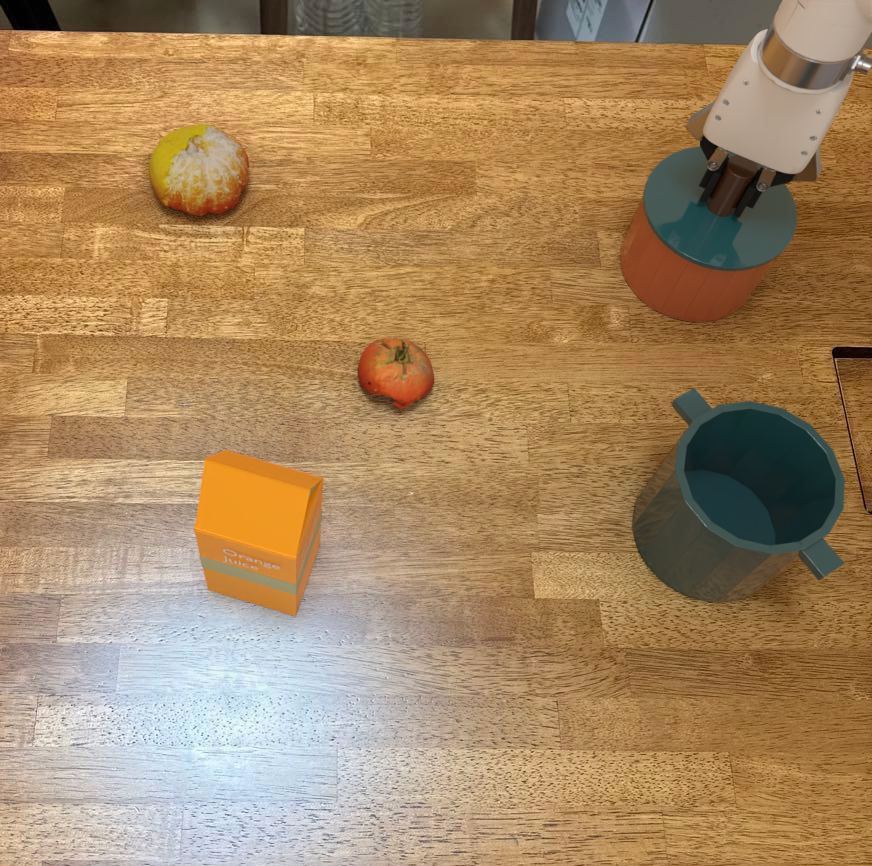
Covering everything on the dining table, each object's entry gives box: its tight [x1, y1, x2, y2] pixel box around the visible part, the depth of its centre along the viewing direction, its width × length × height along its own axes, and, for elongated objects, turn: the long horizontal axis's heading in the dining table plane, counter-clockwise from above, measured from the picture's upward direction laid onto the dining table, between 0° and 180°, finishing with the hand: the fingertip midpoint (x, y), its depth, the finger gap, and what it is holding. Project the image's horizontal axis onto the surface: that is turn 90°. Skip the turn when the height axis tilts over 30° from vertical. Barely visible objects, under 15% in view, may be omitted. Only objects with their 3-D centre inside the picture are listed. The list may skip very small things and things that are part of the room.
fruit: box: [147, 123, 250, 217], centre depth 112 cm, size 11×10×8 cm
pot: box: [632, 387, 846, 603], centre depth 94 cm, size 15×20×12 cm
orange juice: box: [193, 449, 324, 617], centre depth 88 cm, size 8×9×20 cm
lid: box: [642, 145, 798, 271], centre depth 102 cm, size 16×16×7 cm
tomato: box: [357, 337, 435, 410], centre depth 104 cm, size 8×7×7 cm
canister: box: [619, 196, 778, 323], centre depth 108 cm, size 15×15×9 cm
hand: (724, 198), depth 103 cm, fingers closed on lid, 3 cm apart
